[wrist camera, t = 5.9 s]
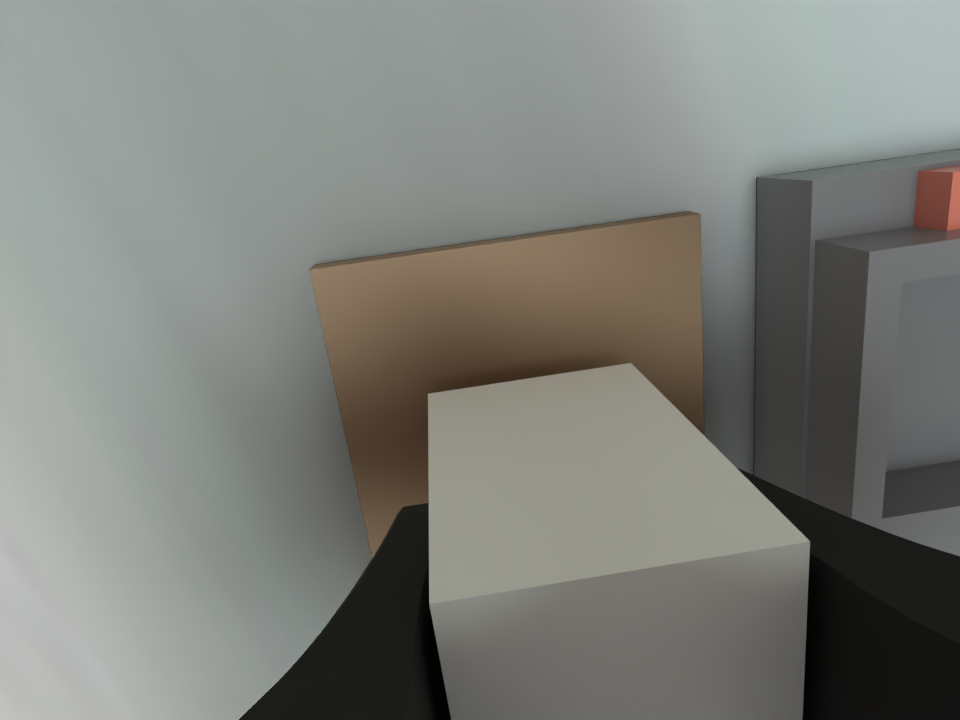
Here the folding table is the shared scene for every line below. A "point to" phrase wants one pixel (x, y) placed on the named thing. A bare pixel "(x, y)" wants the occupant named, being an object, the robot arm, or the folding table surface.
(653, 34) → the folding table surface
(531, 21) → the folding table surface
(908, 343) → the power strip
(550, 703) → the block
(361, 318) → the walnut board
